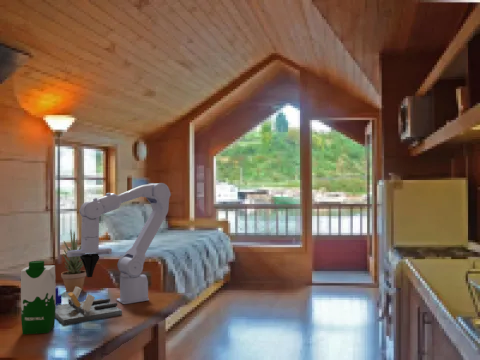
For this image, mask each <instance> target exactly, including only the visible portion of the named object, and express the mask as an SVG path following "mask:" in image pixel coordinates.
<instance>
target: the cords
mask: <svg viewBox="0 0 480 360" xmlns="http://www.w3.org/2000/svg"><path fill="white" fill-rule="evenodd" d="M105 302H109V303H111V298H107V299H106V298H104V300H98V301H93V303H92V304H98V303H105ZM114 306H116V307H118V303H117V302H113V303H111V304H107V305H100V306H95V307H94V309H102V308H108V307H114Z"/></svg>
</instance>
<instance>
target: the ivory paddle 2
mask: <svg viewBox="0 0 480 360" xmlns="http://www.w3.org/2000/svg"><path fill="white" fill-rule="evenodd" d="M95 298H96V297H95V296H94V295H92V294H89V293H88V294H87V296H86V297H85V300H84V301H85V302H84V304H83V307H82V308H83V309H85V310H87V311H89V310H90V308H91V306H92V303H93V301H94V300H96V299H95Z"/></svg>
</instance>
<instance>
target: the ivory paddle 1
mask: <svg viewBox="0 0 480 360" xmlns="http://www.w3.org/2000/svg"><path fill="white" fill-rule="evenodd" d="M81 290H82V291H83V289H81V288H79V287H76V286H75V289H74V291H73V292H72V293H74V294H75V296H76V298H77V299H79V297H80V294H81V292H82V291H81Z"/></svg>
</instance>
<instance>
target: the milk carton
mask: <svg viewBox="0 0 480 360" xmlns="http://www.w3.org/2000/svg"><path fill="white" fill-rule="evenodd" d="M55 287H56V265H45V261H44V260H31V261H29V262H28V266H27V267H24V268H23V269H21V270H20V317H21V318H20V320H21V331H22V335H35V334H49V333H50V332H51V330H52V329H53V328H54V327H55V322H56V320H55V319H56V317H55V310H56V291H55Z"/></svg>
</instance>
